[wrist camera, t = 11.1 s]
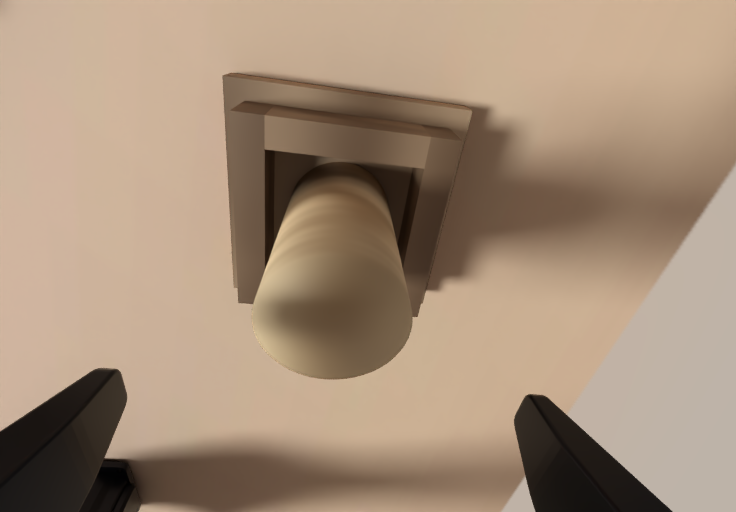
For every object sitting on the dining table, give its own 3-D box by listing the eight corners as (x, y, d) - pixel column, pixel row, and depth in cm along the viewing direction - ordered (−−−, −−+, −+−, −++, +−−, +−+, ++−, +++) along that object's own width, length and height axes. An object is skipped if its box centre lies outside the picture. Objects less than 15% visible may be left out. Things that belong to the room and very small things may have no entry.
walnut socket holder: (239, 274, 20) (221, 315, 18) (231, 72, 16) (203, 82, 13) (418, 290, 22) (429, 330, 19) (464, 105, 17) (489, 121, 14)
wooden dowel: (288, 246, 18) (252, 374, 12) (292, 155, 16) (249, 247, 9) (379, 255, 19) (397, 383, 12) (395, 168, 17) (427, 264, 10)
